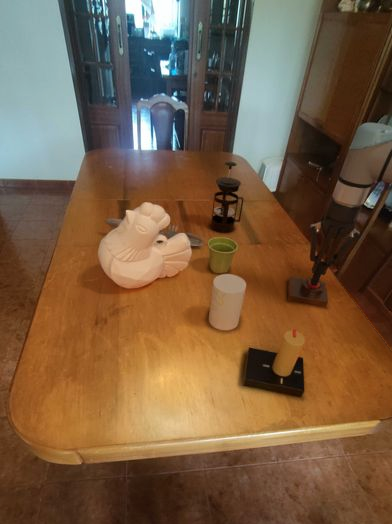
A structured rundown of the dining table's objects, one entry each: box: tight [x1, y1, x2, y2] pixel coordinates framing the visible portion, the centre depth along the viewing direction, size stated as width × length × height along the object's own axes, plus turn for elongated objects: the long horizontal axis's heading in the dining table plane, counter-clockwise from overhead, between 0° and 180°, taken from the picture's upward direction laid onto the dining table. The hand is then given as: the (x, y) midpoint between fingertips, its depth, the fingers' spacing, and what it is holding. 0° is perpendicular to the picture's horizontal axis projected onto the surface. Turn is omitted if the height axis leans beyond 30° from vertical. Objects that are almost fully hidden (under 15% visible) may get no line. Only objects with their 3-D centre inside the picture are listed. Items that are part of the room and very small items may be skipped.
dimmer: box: [242, 347, 305, 398], centre depth 73 cm, size 13×10×3 cm
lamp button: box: [307, 280, 320, 289], centre depth 95 cm, size 4×4×2 cm
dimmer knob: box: [272, 329, 306, 376], centre depth 68 cm, size 4×4×10 cm
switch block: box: [287, 276, 329, 308], centre depth 96 cm, size 11×10×4 cm
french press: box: [209, 161, 245, 234], centre depth 116 cm, size 12×9×23 cm
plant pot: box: [207, 236, 239, 275], centre depth 101 cm, size 9×9×9 cm
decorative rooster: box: [97, 201, 193, 289], centre depth 88 cm, size 25×16×25 cm
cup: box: [208, 273, 247, 331], centre depth 82 cm, size 8×8×12 cm
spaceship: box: [104, 217, 205, 247], centre depth 110 cm, size 8×35×8 cm
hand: (313, 282), depth 94 cm, fingers closed
